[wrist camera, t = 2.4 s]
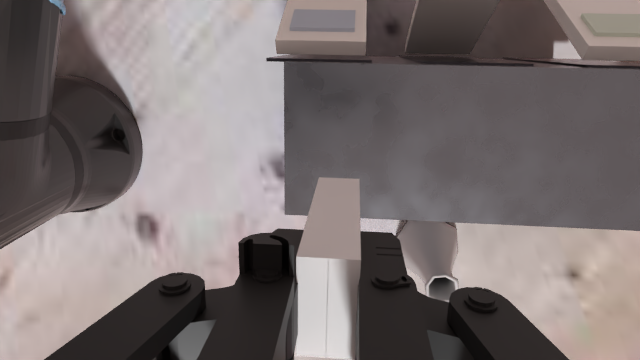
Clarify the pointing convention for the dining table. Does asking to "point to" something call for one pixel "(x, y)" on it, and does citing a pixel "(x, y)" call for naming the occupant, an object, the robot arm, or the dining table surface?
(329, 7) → the cream flat slab
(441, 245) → the flask
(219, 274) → the dining table surface
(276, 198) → the dining table surface
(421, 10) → the cream flat slab
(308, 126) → the card holder crate
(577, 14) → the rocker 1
